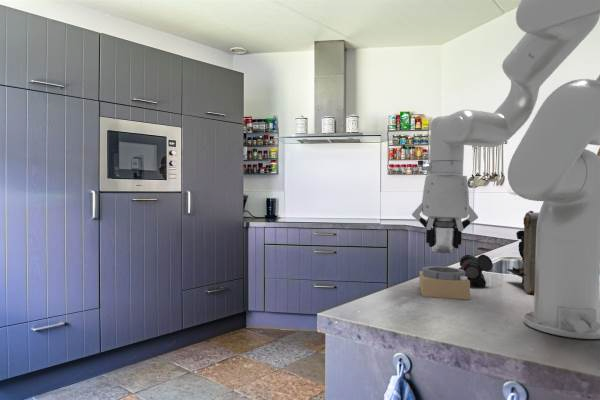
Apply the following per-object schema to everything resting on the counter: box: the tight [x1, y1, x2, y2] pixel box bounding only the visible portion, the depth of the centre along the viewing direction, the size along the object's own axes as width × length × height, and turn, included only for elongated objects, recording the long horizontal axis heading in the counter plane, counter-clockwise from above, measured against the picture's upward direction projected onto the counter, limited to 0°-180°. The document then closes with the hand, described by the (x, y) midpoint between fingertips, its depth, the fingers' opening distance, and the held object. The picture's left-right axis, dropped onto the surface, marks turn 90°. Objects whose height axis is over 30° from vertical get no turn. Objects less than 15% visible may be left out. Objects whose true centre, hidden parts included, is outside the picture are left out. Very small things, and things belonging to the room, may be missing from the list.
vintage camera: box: [506, 210, 539, 295], centre depth 105 cm, size 10×16×20 cm, turn 174°
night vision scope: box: [458, 254, 494, 289], centre depth 112 cm, size 8×18×10 cm
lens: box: [431, 218, 456, 254], centre depth 98 cm, size 5×5×8 cm
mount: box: [418, 265, 471, 300], centre depth 98 cm, size 10×10×6 cm
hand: (443, 246), depth 98 cm, fingers closed on lens, 5 cm apart
